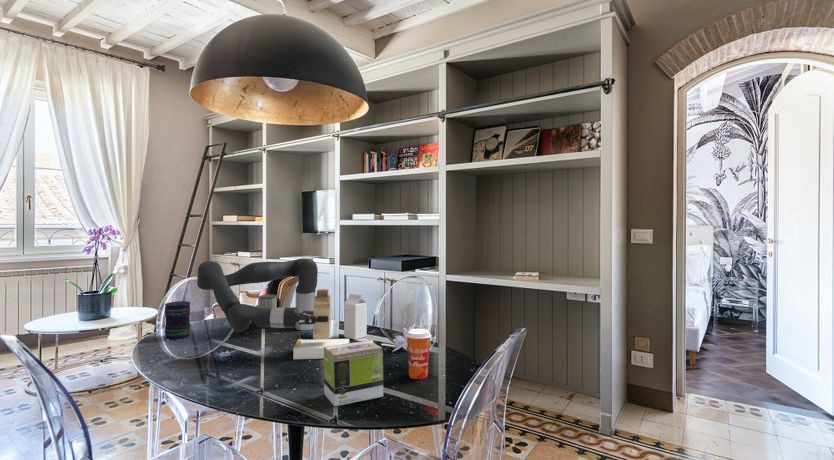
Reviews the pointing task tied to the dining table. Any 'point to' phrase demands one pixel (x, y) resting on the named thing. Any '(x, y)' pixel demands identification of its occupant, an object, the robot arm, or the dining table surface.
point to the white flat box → (314, 348)
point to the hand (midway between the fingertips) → (328, 317)
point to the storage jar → (177, 320)
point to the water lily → (401, 339)
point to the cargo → (322, 293)
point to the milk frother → (267, 304)
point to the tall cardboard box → (322, 309)
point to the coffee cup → (418, 352)
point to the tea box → (353, 372)
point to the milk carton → (355, 317)
